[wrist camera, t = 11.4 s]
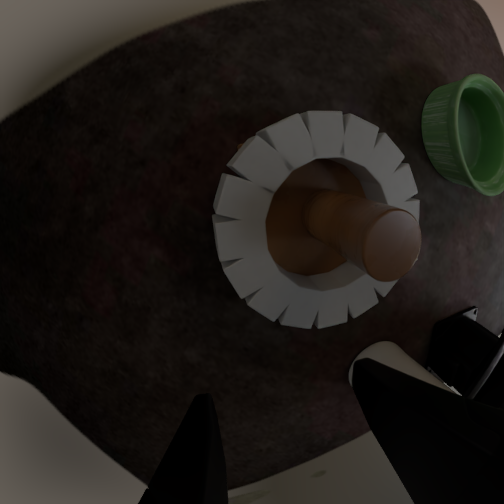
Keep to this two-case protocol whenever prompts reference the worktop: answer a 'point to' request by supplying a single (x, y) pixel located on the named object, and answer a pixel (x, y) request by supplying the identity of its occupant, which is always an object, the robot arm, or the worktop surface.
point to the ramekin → (467, 133)
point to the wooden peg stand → (338, 225)
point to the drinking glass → (397, 362)
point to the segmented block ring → (258, 203)
